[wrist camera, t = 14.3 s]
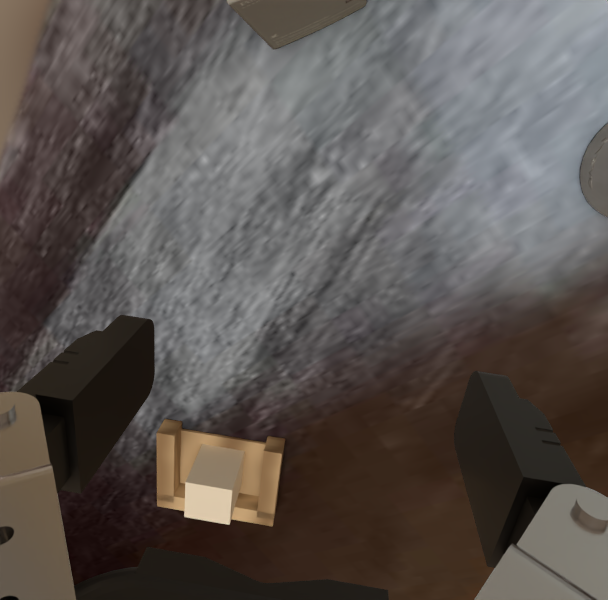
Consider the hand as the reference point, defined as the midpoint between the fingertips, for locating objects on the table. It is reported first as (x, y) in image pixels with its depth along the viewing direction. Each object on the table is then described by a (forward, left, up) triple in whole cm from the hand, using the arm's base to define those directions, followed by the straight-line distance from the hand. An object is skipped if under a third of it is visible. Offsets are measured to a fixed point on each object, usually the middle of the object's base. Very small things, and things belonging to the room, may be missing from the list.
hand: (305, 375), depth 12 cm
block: (+9, +35, -33) cm, 49 cm away
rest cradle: (+9, +36, -33) cm, 50 cm away
